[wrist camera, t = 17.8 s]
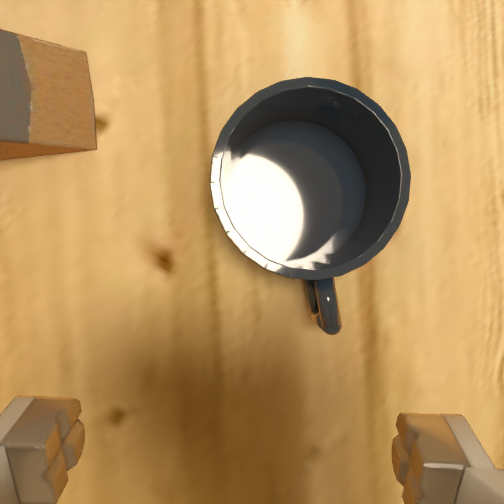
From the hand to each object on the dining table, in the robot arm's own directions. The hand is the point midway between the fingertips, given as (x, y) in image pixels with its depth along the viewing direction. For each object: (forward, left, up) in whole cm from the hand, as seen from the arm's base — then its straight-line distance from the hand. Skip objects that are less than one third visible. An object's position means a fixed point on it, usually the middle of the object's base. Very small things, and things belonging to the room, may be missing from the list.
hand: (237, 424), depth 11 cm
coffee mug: (-2, -9, -25) cm, 26 cm away
